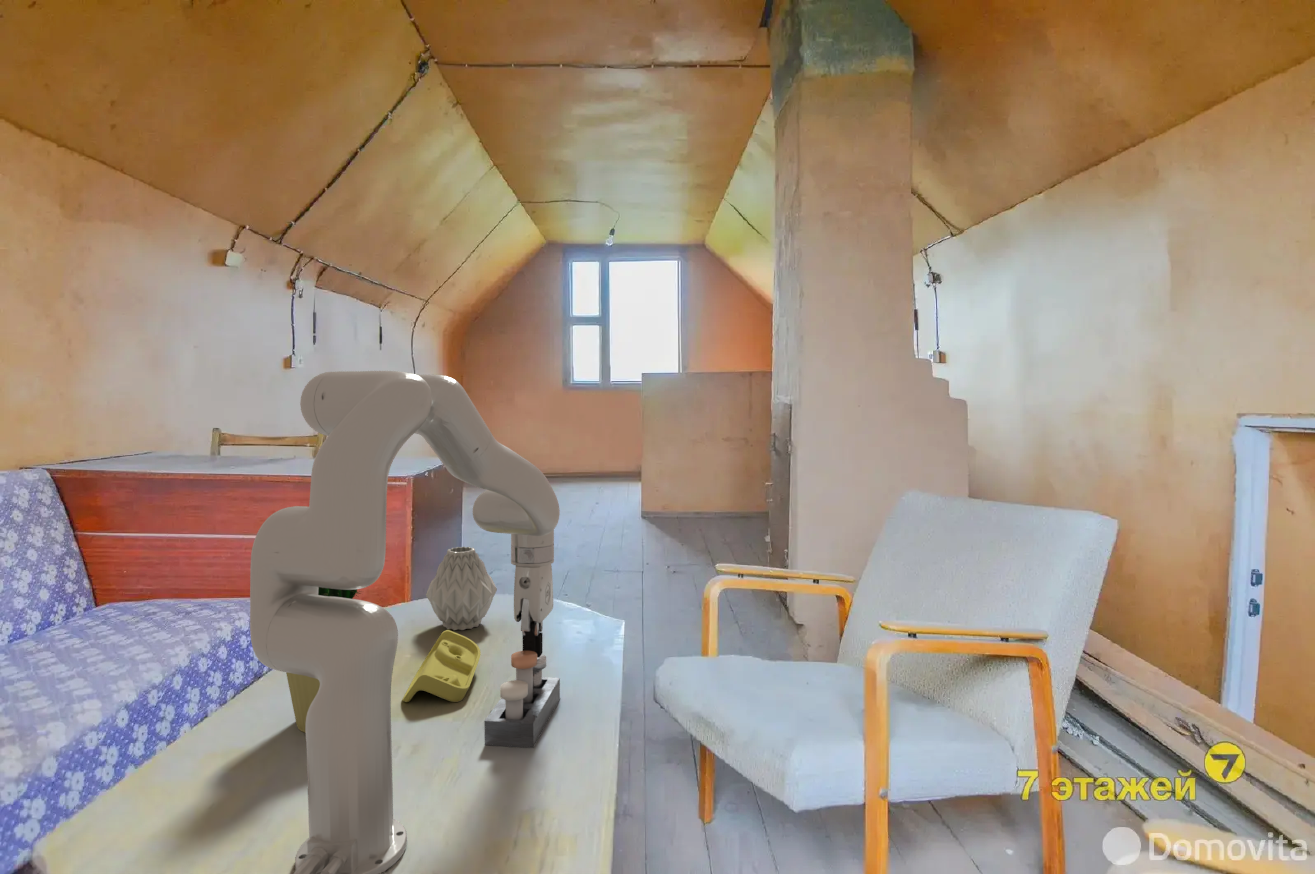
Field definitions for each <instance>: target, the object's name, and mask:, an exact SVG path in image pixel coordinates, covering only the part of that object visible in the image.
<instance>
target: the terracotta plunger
mask: <svg viewBox="0 0 1315 874" xmlns="http://www.w3.org/2000/svg"><path fill="white" fill-rule="evenodd" d="M510 665H511V667H512V668H514V669H515V678H516V680H520V681H524V682H526V683H527V684H528V695H527V696H526V697H525V698H523V703H532V704H533V667H534V666H536V665H537V653H536V652H534V651H523V650H519V651H515V652H514V653H512V654H511V657H510Z"/></svg>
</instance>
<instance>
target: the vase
mask: <svg viewBox="0 0 1315 874" xmlns="http://www.w3.org/2000/svg"><path fill="white" fill-rule="evenodd" d="M497 590H498V589H497V586H496V584H495V582H494V581H493V578H492V577H491V576H490V574H489V572H488V571H487V568H486V565H485V562H484V561H483V560H482V559H481V558H480V555H479V554H478V553H477V552H476V549H475V548H474V547H470V546H467V547H466V546H456V547H451V548H448V549H447V551H446V554H445V555H444V556H443V559H442V561H441V562H440V563H439V564H438V567H437V570H436V574H435V576H434V578H433V579H431V582H430V583H429V585H428V589H427V591H426V594H425V596H426V598H427V599H428V601H429V603H430V605H431V607H432V610H433V612H434V614H435V615H436V617H437V618H438V621H441V622H442V626H443V627H444V628H446V630H453V631H457V630H460V631H464V630H466V629H467V630H472V629H473V628H475V627H476V628H477V627H479V625H480V624H482V620H483V619H484V618H485V617H486V615H487V613H488V612H489V609H490V607H491V605H492V603H493V600H494V598H495V597H494V596H495V595H496V593H497Z"/></svg>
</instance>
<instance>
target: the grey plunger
mask: <svg viewBox="0 0 1315 874" xmlns="http://www.w3.org/2000/svg"><path fill="white" fill-rule="evenodd" d="M546 667H547V656H546V655H544V654H543V653H542V654H541V656H540V657H538V658H537V665H536V666H534V667H533V688H535V689H542V677H543V670H544V669H546Z"/></svg>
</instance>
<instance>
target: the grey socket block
mask: <svg viewBox="0 0 1315 874" xmlns="http://www.w3.org/2000/svg"><path fill="white" fill-rule="evenodd" d="M560 679H561V678H560V677H549V676H548V677H546V676H542V689H535V688H533V704H532V703H523V720H517V719H506V704H505V700H504V699H502V698H501V697H500V699H499V700H498V702H497V703H496V704H495V706H494V707H493V709H492V710H491V711H490V713H489V714H488V715H487V716H486V718H485V719H484V722H483V723H484V727H483V728H484V746H492V747H494V746H496V747H498V746H499V747H514V748H516V747H517V748H531V749H532V748H534V747H535V746H536V744H537V742H538V740H539V739H540V737H541V735H542V733H543V731H544V730H545V728H546V725H547V724H548V722H549V720H550V718H551V716H552V714H553V713H554V710H555V709H556V708H557V705H558V704H559V702H560V699H561V686H560V685H561V683H560V682H561V680H560ZM514 680H516V677H515V679H514Z"/></svg>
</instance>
